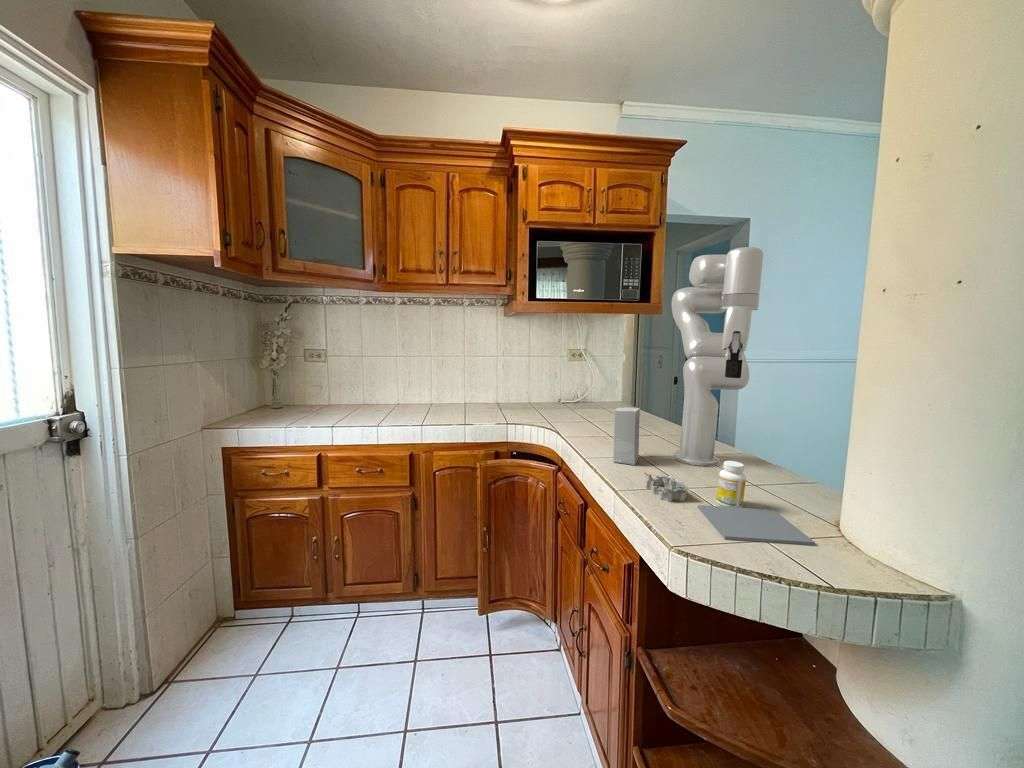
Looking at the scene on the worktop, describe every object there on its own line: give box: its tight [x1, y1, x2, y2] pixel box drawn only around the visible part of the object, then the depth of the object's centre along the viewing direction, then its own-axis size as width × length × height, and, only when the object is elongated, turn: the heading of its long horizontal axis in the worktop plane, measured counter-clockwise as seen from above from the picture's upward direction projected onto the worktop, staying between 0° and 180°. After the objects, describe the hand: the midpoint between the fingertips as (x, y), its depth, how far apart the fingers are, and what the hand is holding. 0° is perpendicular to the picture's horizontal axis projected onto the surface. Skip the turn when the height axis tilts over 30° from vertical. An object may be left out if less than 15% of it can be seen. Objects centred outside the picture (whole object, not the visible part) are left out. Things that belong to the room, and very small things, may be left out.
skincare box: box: [612, 406, 641, 466], centre depth 122 cm, size 8×7×16 cm
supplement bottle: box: [716, 460, 747, 508], centre depth 93 cm, size 5×5×10 cm
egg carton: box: [644, 471, 691, 503], centre depth 99 cm, size 10×7×4 cm
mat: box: [697, 504, 816, 546], centre depth 83 cm, size 14×16×1 cm
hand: (733, 376), depth 98 cm, fingers open, 9 cm apart
